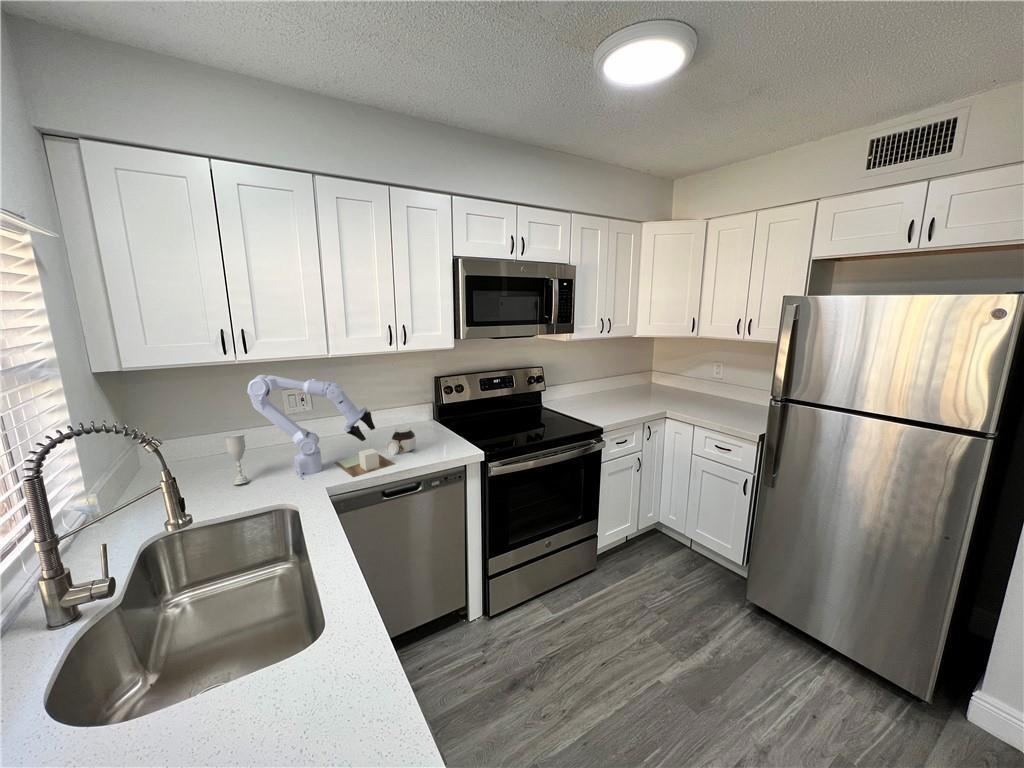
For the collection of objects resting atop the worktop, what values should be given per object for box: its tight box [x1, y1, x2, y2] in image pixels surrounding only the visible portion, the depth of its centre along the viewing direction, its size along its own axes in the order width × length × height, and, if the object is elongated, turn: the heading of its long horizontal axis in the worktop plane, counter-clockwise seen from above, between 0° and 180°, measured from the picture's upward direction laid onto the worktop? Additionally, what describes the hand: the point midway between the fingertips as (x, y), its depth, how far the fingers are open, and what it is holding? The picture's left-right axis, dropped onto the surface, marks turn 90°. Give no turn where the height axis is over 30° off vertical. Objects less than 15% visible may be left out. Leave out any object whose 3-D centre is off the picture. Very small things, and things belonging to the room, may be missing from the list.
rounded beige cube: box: [358, 447, 379, 471], centre depth 169 cm, size 6×6×6 cm
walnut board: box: [333, 453, 396, 478], centre depth 173 cm, size 18×20×1 cm
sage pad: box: [336, 455, 360, 468], centre depth 175 cm, size 9×9×1 cm
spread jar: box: [385, 424, 417, 456], centre depth 186 cm, size 12×11×12 cm
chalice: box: [223, 433, 250, 486], centre depth 158 cm, size 7×7×18 cm
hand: (368, 434), depth 171 cm, fingers open, 7 cm apart
